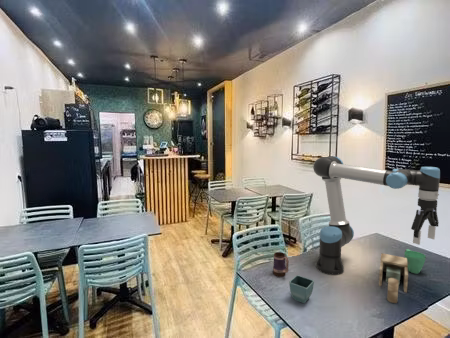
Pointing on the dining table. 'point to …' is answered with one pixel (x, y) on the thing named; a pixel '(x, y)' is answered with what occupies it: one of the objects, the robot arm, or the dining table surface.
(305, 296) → the flower pot
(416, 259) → the mug
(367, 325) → the dining table surface
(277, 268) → the mug
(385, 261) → the tan wooden arch
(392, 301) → the tethered block
